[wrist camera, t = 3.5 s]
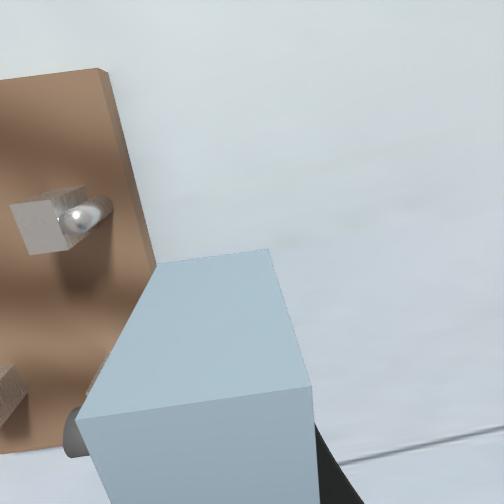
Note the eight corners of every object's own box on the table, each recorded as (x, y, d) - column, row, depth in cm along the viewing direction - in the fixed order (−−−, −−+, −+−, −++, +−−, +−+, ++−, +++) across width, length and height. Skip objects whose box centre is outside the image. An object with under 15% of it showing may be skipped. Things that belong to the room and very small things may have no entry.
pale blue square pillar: (294, 489, 15) (334, 708, 9) (196, 504, 15) (175, 734, 9) (267, 248, 10) (312, 385, 5) (127, 268, 10) (7, 429, 5)
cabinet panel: (193, 411, 21) (191, 427, 20) (12, 437, 21) (0, 454, 20) (107, 72, 14) (97, 67, 13) (-170, 107, 14) (-204, 105, 13)
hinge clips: (161, 373, 19) (148, 416, 16) (1, 395, 18) (-39, 443, 16) (106, 182, 15) (77, 195, 12) (-98, 209, 14) (-177, 229, 12)
